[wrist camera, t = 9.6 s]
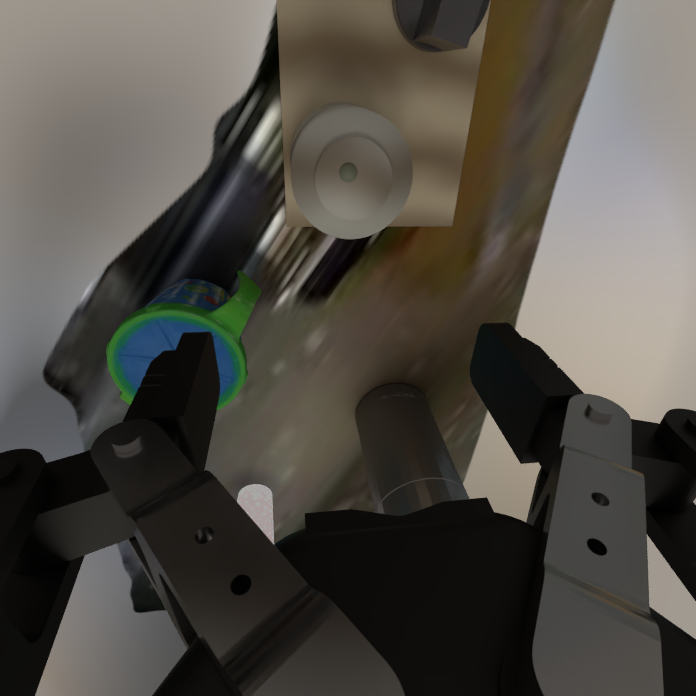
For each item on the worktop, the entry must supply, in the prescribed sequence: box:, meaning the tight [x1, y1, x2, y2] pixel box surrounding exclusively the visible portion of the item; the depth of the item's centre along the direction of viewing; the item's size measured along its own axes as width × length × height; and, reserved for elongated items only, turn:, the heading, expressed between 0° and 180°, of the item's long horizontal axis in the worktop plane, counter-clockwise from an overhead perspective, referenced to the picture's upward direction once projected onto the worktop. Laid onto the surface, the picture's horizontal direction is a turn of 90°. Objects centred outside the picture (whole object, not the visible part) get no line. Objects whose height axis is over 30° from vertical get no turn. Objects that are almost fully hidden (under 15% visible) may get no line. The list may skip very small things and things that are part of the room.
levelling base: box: [277, 0, 491, 239], centre depth 28 cm, size 24×15×11 cm, turn 178°
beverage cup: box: [237, 484, 274, 544], centre depth 52 cm, size 6×6×14 cm
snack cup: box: [106, 271, 261, 410], centre depth 37 cm, size 16×10×10 cm
